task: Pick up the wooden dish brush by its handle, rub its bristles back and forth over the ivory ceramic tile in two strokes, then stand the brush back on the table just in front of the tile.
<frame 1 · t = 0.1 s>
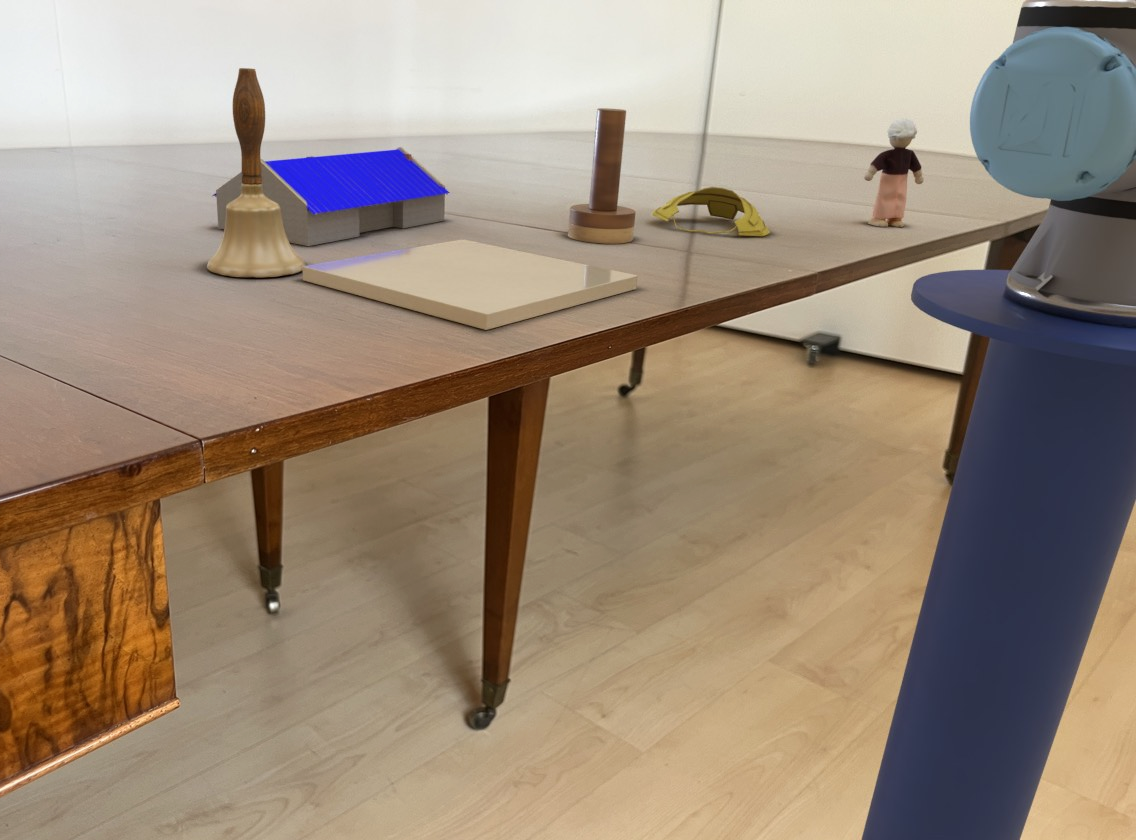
hand bell: (256, 270, 86), on the table
grandmother figurine: (882, 226, 125), on the table
model house: (337, 226, 107), on the table
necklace: (713, 227, 118), on the table
dish brush: (600, 237, 107), on the table
tile: (472, 284, 84), on the table
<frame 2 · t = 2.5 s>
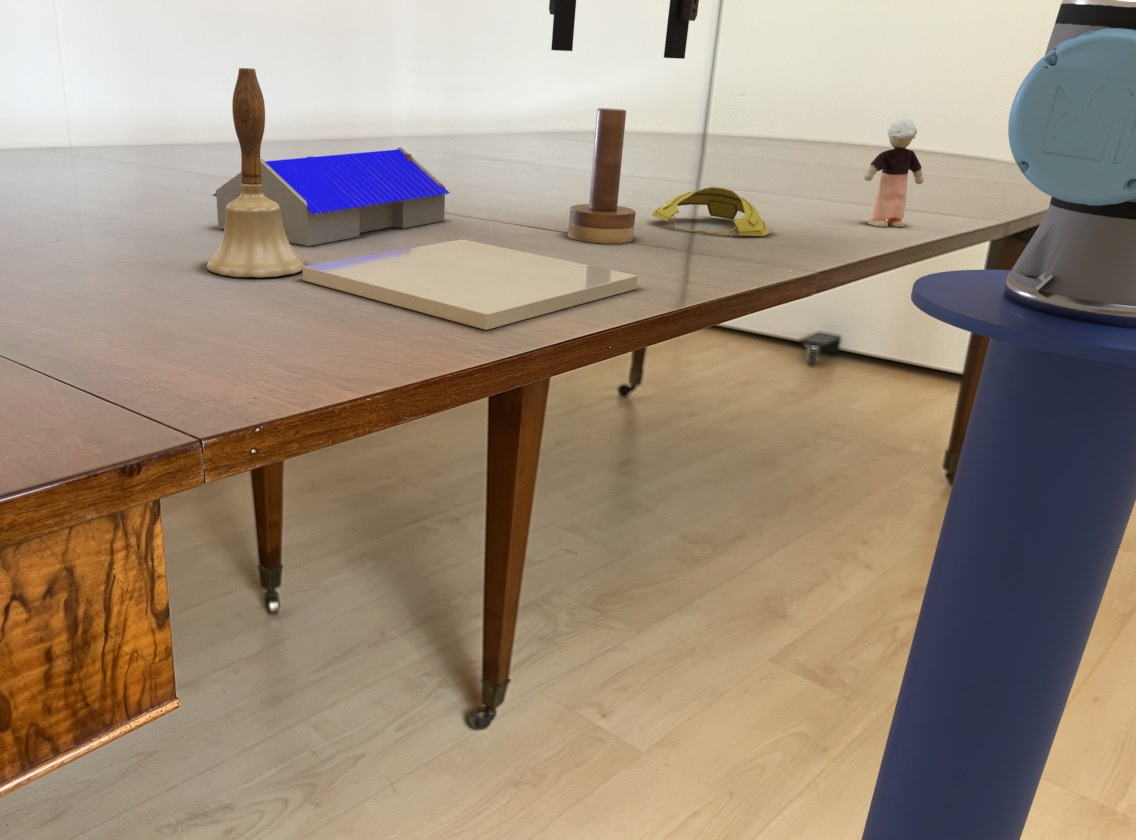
hand: (615, 54, 100), 18 cm above the table, tool pointing down, fingers open, 13 cm apart
nothing on the table moved.
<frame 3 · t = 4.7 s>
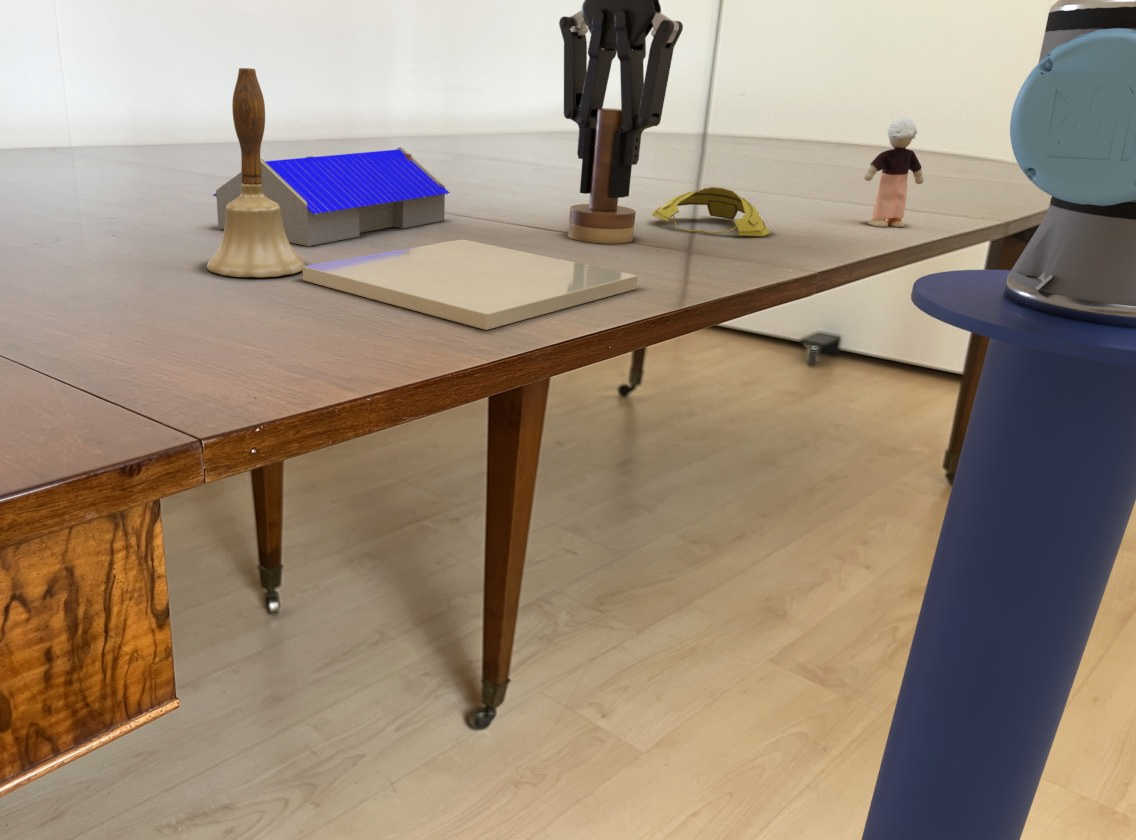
hand: (604, 194, 105), 5 cm above the table, tool pointing down, fingers closed on dish brush, 3 cm apart
dish brush: (600, 237, 107), on the table, touching gripper
everything else where it was.
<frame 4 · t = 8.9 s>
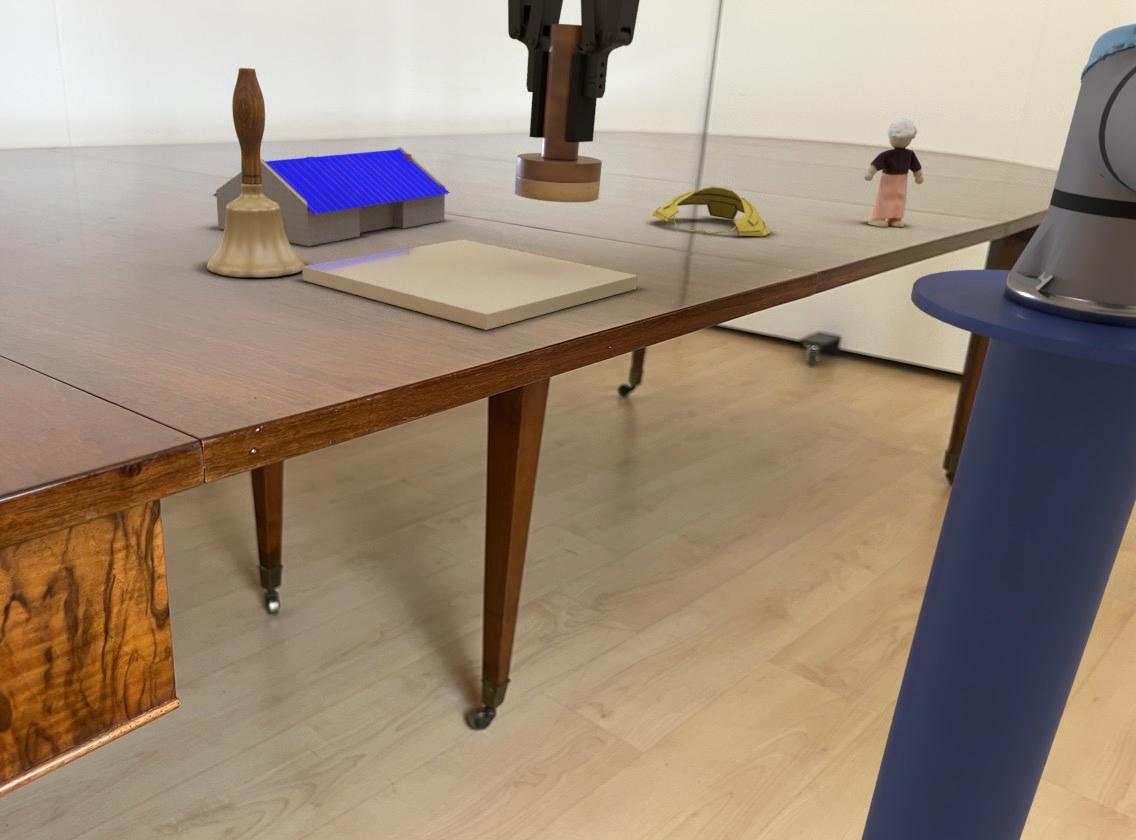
hand: (561, 138, 81), 12 cm above the table, tool pointing down, fingers closed on dish brush, 3 cm apart
dish brush: (556, 195, 83), point 7 cm above the table, touching gripper
everything else where it was.
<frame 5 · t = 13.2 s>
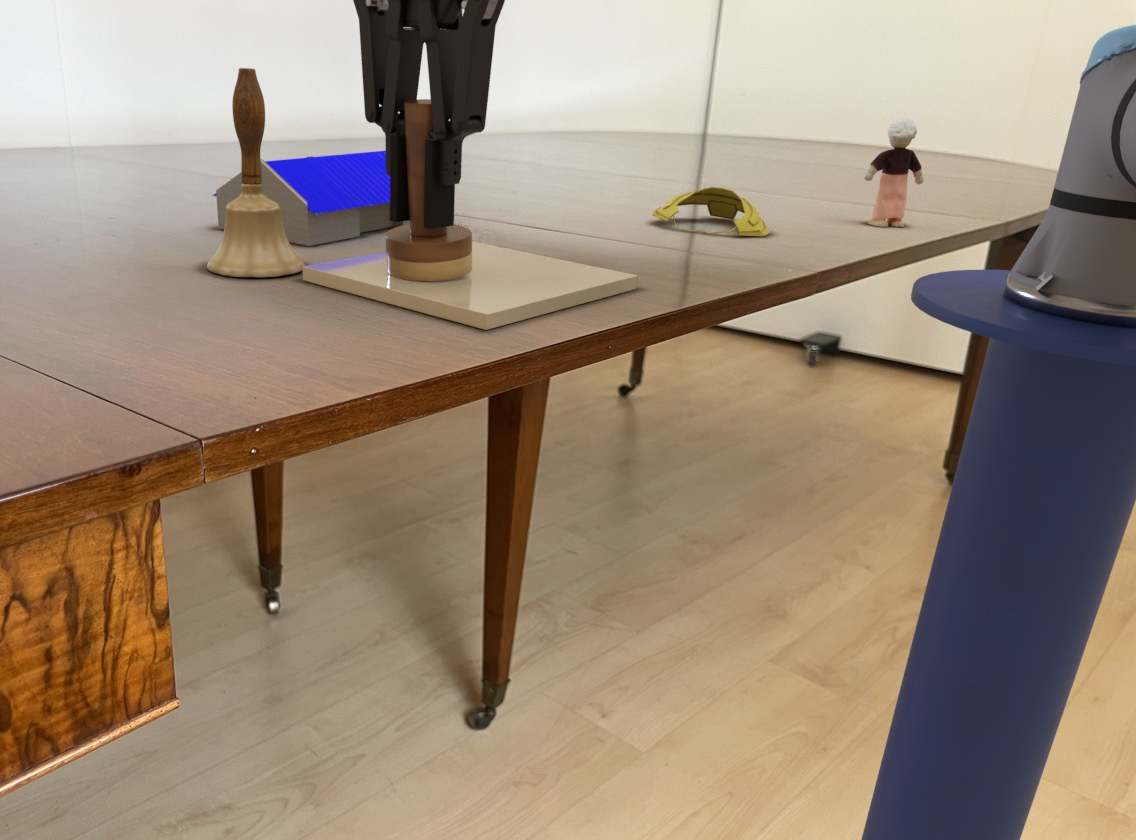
hand: (421, 222, 79), 5 cm above the table, tool pointing down, fingers closed on dish brush, 3 cm apart
dish brush: (429, 269, 82), point 1 cm above the table, touching gripper
everything else where it was.
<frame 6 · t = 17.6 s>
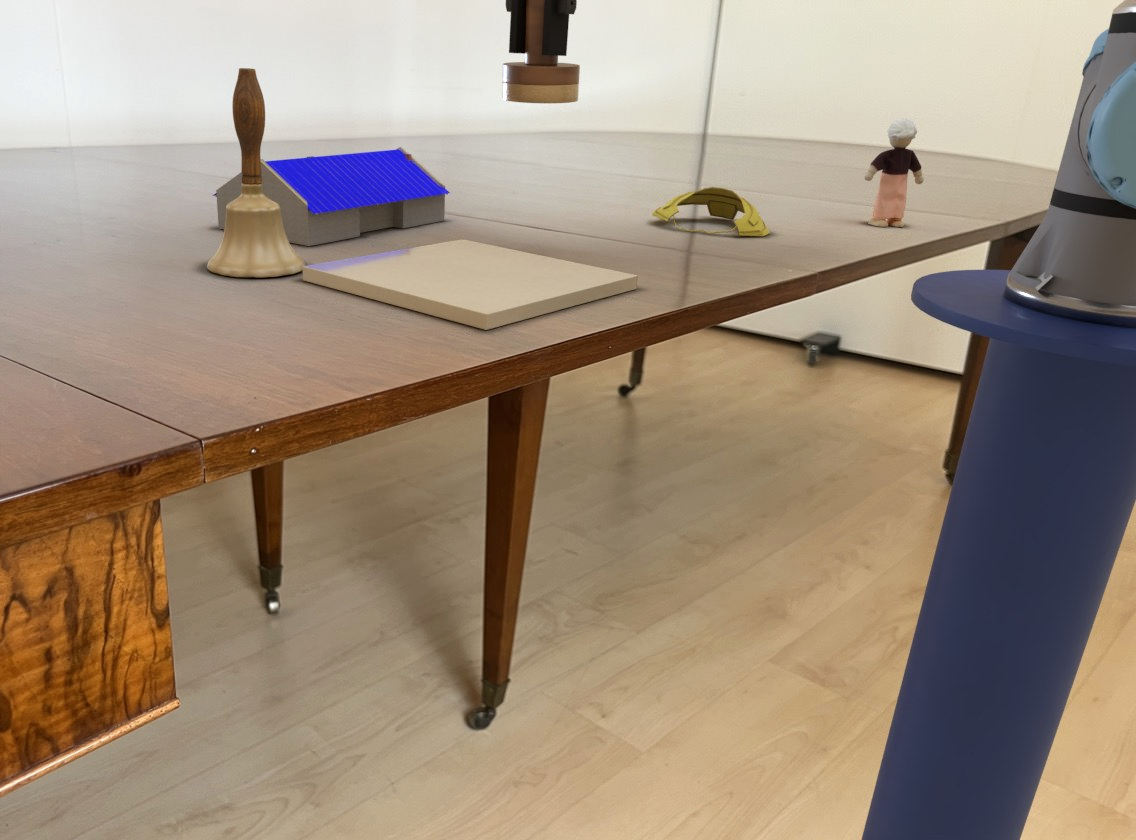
hand: (537, 53, 89), 18 cm above the table, tool pointing down, fingers closed on dish brush, 3 cm apart
dish brush: (540, 99, 91), point 14 cm above the table, touching gripper
everything else where it was.
when the fingers open (4 cm above the table, at t = 21.8 s): dish brush stays where it is, on the table.
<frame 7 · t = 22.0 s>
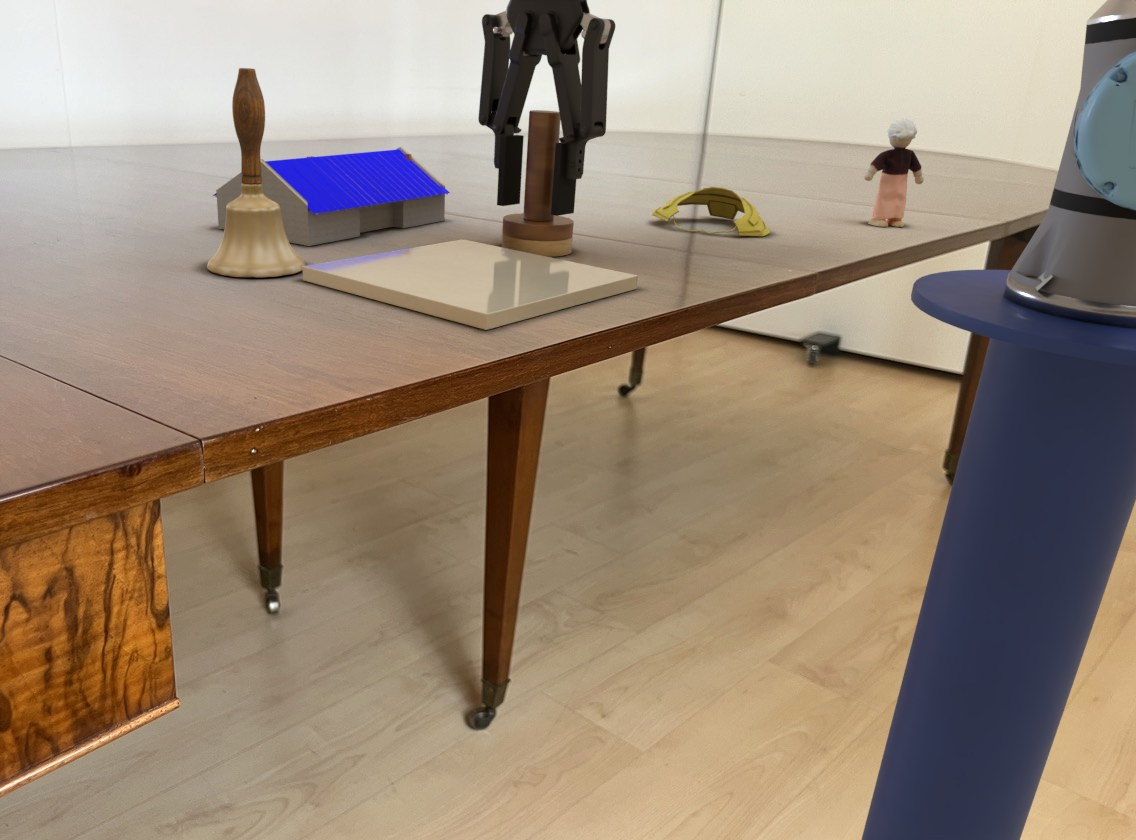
hand: (534, 208, 97), 4 cm above the table, tool pointing down, fingers open, 6 cm apart
dish brush: (536, 249, 99), on the table
everything else where it was.
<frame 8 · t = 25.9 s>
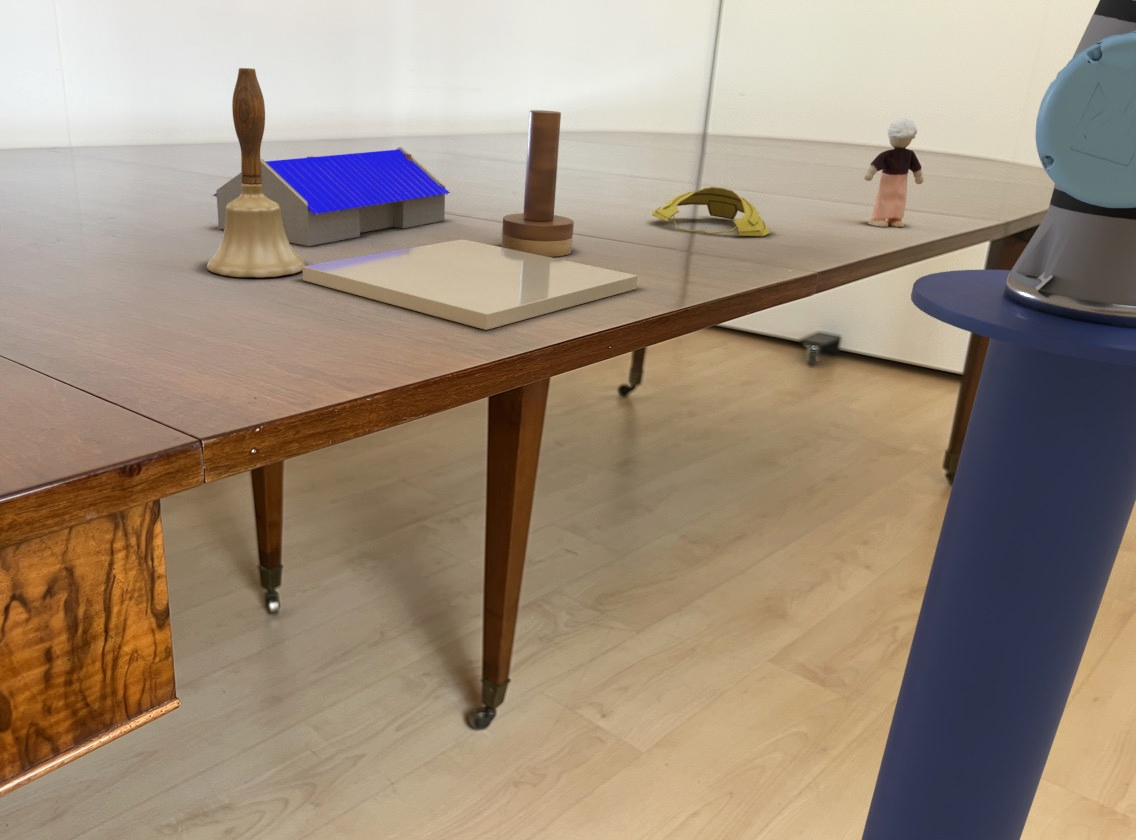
nothing on the table moved.
at the end: dish brush inside the target area on the table beside the tile (0.8 cm from its centre), on the table; dish brush tilted 0°; the gripper is holding nothing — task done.
